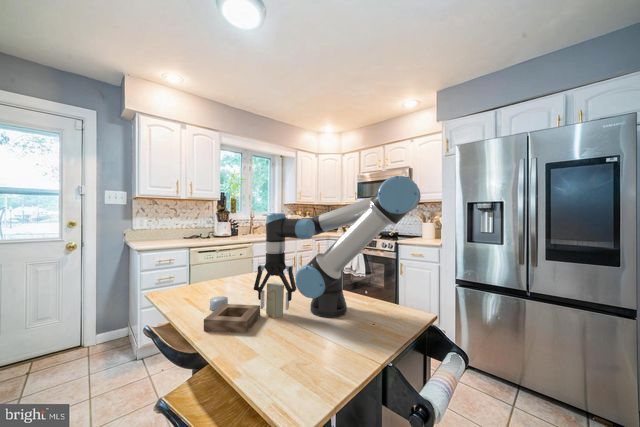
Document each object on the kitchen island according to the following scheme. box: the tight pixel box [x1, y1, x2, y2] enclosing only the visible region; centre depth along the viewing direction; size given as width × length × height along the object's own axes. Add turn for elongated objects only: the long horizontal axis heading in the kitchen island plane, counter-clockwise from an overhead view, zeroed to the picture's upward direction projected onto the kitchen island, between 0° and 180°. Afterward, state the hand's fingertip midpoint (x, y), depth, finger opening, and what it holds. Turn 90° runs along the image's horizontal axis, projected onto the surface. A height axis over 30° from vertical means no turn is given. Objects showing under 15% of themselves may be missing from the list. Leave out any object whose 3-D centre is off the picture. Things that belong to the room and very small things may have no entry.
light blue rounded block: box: [209, 295, 229, 312], centre depth 111 cm, size 7×7×4 cm
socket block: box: [203, 303, 261, 334], centre depth 97 cm, size 15×15×4 cm
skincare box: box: [265, 281, 285, 319], centre depth 105 cm, size 6×4×12 cm
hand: (274, 308), depth 105 cm, fingers open, 9 cm apart
